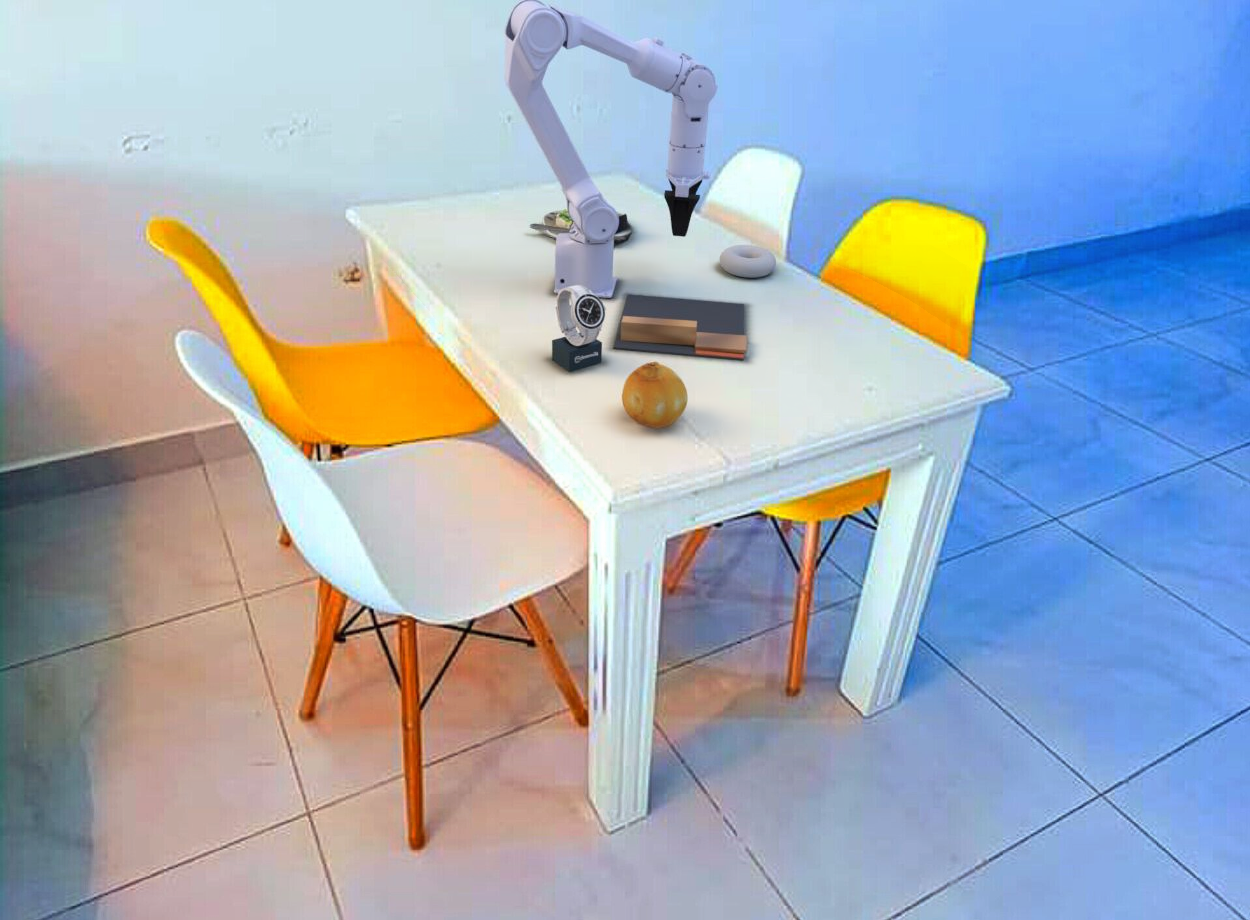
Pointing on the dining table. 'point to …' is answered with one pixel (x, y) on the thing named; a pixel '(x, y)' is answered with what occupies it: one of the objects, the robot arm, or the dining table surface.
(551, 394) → the dining table surface
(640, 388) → the fruit
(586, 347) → the watch
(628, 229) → the salad plate
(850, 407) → the dining table surface
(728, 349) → the spatula
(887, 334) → the dining table surface
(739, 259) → the donut
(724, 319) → the corner mat
